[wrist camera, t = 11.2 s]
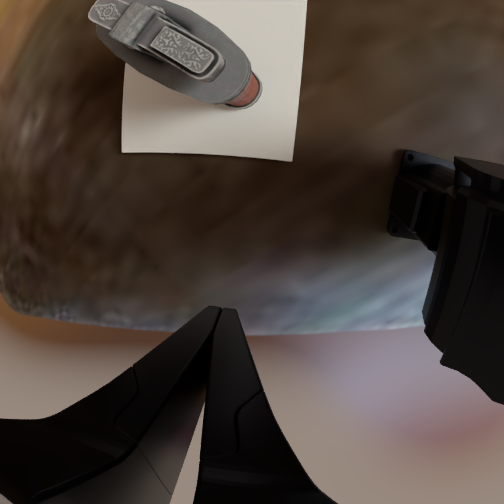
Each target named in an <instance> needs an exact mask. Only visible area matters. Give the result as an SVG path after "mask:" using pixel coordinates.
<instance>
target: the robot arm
mask: <svg viewBox="0 0 504 504" xmlns="http://www.w3.org/2000/svg"><path fill="white" fill-rule="evenodd" d="M409 154H411V159H410V160H408V155H409ZM389 209H390V211H391V213H390V217H389V221H388V225H387V231H388V233H389V234H390V235H391V236H395V237H402V238H408V239H414V240H420V241H421V242H422V243H423V244H424V245H425V246H426V248H427V249H428V250H430V251H432V252H433V253H434V254H435V255H436V259H435V263H434V268H433V272H432V276H431V280H430V284H429V288H428V291H427V295H426V298H425V302H424V306H423V310H422V314H423V319H424V324H425V329H424V332H425V334H426V335H427V337H428V338H429V340H430V341H431V342H432V343H433V344H434V345H435V346H436V347H437V348H438V349H439V350H440V351H441V352H442V353H443V356H442V358H441V360H440V363H441V365H443V366H446V367H448V368H451V369H454V370H457V371H459V372H460V373H462V374H464V375H465V376H467V377H469V378H470V379H471V380H472V381H474V382H475V383H476V384H477V385H478V386H479V387H480V388H481V389H482V390H483V391H484V392H485V393H486V395H487V396H488V397H489V398H490V399H491V400H492V401H494V402H497V403H500V404H503V405H504V165H502V164H497V163H492V162H487V161H482V160H476V159H470V158H464V157H457V156H454V163H452V162H449V161H446V160H443V159H439V158H436V157H433V156H430V155H426V154H423V153H419V152H416V151H412V150H405V151H404V152H403V155H402V160H401V166H400V171H399V175H397V176H396V178H395V183H394V188H393V193H392V198H391V202H390V207H389ZM393 227H396V229H395V230H394V231H392V228H393ZM204 402H205V408H204V418H203V428H202V438H201V450H200V462H199V472H198V480H197V486H196V491H195V496H194V501H193V504H338V503H336V502H335V501H333V500H332V499H331V498H330V497H328V496H327V495H326V494H325V493H323V492H322V491H321V490H320V489H319V488H318V487H317V486H316V485H315V484H314V483H313V481H312V480H311V479H310V477H309V476H308V474H307V473H306V472H305V470H304V468H303V467H302V465H301V463H300V462H299V460H298V459H297V457H296V455H295V454H294V452H293V450H292V448H291V447H290V445H289V443H288V441H287V440H286V438H285V436H284V434H283V433H282V431H281V429H280V427H279V425H278V423H277V421H276V419H275V417H274V415H273V412H272V410H271V407H270V405H269V402H268V400H267V397H266V394H265V392H264V389H263V386H262V384H261V380H260V378H259V375H258V372H257V369H256V366H255V364H254V360H253V358H252V355H251V352H250V349H249V346H248V343H247V340H246V337H245V334H244V331H243V328H242V325H241V322H240V319H239V316H238V313H237V310H235V309H230V308H223V309H222V308H221V307H215V306H208V307H206V308H205V309H204V310H202V311H201V312H200V313H199V314H197V315H196V316H195V317H194V318H192V319H191V320H190V321H189V322H187V323H186V324H185V325H183V326H182V327H181V328H180V329H178V330H177V331H176V332H175V333H173V334H172V335H171V336H170V337H168V338H167V339H166V340H165V341H163V342H162V343H161V344H159V345H158V346H157V347H156V348H154V349H153V350H152V351H150V352H149V353H148V354H146V355H145V356H144V357H143V358H141V359H140V360H139V361H137V362H136V363H135V364H134V365H133V367H130V368H128V369H127V370H126V371H124V372H123V373H122V374H120V375H119V376H118V377H116V378H115V379H113V380H112V381H111V382H110V383H108V384H106V385H105V386H103V387H101V388H100V389H99V390H97V391H95V392H93V393H92V394H90V395H88V396H87V397H85V398H83V399H82V400H80V401H78V402H76V403H75V404H73V405H71V406H69V407H68V408H66V409H64V410H62V411H61V412H59V413H57V414H55V415H52V416H50V417H46V418H42V419H31V420H29V419H26V420H25V419H0V504H169V503H170V501H171V498H172V495H173V492H174V489H175V486H176V483H177V480H178V477H179V474H180V472H181V469H182V466H183V463H184V460H185V457H186V454H187V451H188V448H189V445H190V442H191V440H192V437H193V434H194V431H195V428H196V425H197V422H198V419H199V416H200V413H201V411H202V408H203V405H204Z"/></svg>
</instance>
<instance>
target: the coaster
mask: <svg viewBox="0 0 504 504" xmlns="http://www.w3.org/2000/svg"><path fill="white" fill-rule="evenodd" d="M167 1H169V2H172V3H175V4H177V5H180V6H183V7H185V8H188V9H190V10H192V11H193V12H195V13H196V14H198V15H200V16H201V17H203V18H204V19H206V20H207V21H209V22H210V23H212V24H213V25H215V26H216V27H218V28H219V29H220V30H221V31H222V32H223V33H225V34H226V35H227V36H228V37H229V38H230V39H231V40H232V41H233V42H234V43H235V44H236V45H237V46H238V47H240V48H241V49H242V50H243V51H244V53H245V54H246V56H247V57H248V59H249V61H250V63H251V69H252V70H253V72H254V73H255V74H256V75H257V76H258V77H259V79H260V81H261V82H262V88H263V89H262V94H261V96H260V98H259V100H258V101H257V102H256V103H255V104H254V105H253V106H251V107H249V108H246V109H240V110H239V109H234V108H231V107H228V106H226V105H224V104H217V105H214V104H209V103H205V102H201V101H199V100H196V99H194V98H192V97H189V96H187V95H184V94H182V93H179V92H177V91H174V90H172V89H169V88H167V87H166V86H164V85H162V84H160V83H158V82H156V81H154V80H153V79H151V78H149V77H147V76H145V75H143V74H141V73H139V72H138V71H137V70H135V69H134V68H133V67H131V66H130V65H128V64H127V63H126V64H125V75H124V88H123V106H122V153H128V152H160V153H194V154H213V155H228V156H241V157H253V158H263V159H272V160H281V161H290V162H292V159H293V150H294V141H295V132H296V122H297V113H298V103H299V93H300V82H301V71H302V60H303V48H304V35H305V22H306V7H307V0H167Z"/></svg>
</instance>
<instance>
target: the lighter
mask: <svg viewBox="0 0 504 504" xmlns="http://www.w3.org/2000/svg"><path fill="white" fill-rule="evenodd" d="M88 17H89V19H90V20H91V21H93V22H95V23H97V26H96V34H97V36H98V37H99V39H100V40H101V41H102V42H103V43H104V44H105V45H106V46H107V47H108V48H109V49H110V50H111V51H112V52H113V53H114V54H115V55H116V56H117V57H119V58H120V59H122V60H123V61H124V62H126V63H127V64H128V65H130V66H131V67H133V68H134V69H135V70H137V71H138V72H139V73H141V74H143V75H145V76H147V77H149V78H151V79H153V80H154V81H156V82H158V83H160V84H162V85H164V86H166V87H167V88H169V89H172V90H174V91H177V92H179V93H182V94H184V95H187V96H189V97H192V98H194V99H196V100H199V101H201V102H205V103H209V104H214V105H217V104H224V105H226V106H228V107H231V108H234V109H239V110H240V109H246V108H249V107H251V106H253V105H254V104H255V103H256V102H257V101H258V100H259V98H260V96H261V94H262V89H263V88H262V82H261V81H260V79H259V77H258V76H257V75H256V74H255V73H254V72H253V70H252V69H251V63H250V61H249V59H248V57H247V56H246V54H245V53H244V51H243V50H242V49H241V48H240V47H238V46H237V45H236V44H235V43H234V42H233V41H232V40H231V39H230V38H229V37H228V36H227V35H226V34H225V33H223V32H222V31H221V30H220V29H219V28H218V27H216V26H215V25H213V24H212V23H210V22H209V21H207V20H206V19H204V18H203V17H201V16H200V15H198V14H196V13H195V12H193V11H192V10H190V9H188V8H185V7H183V6H180V5H177V4H175V3H172V2H169V1H167V0H97V1H96V3H95V4H94V5H93V7H92V8H91V10H90V11H89V15H88Z"/></svg>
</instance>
